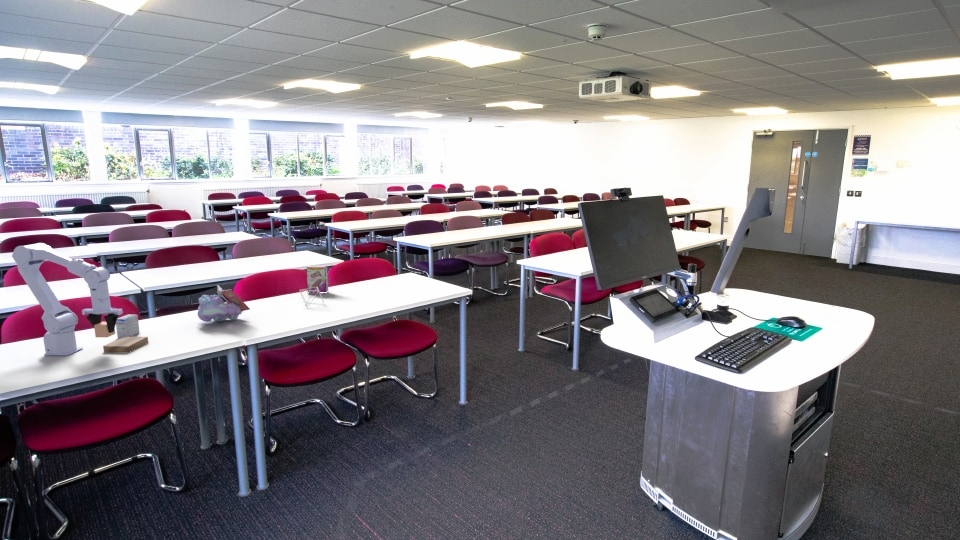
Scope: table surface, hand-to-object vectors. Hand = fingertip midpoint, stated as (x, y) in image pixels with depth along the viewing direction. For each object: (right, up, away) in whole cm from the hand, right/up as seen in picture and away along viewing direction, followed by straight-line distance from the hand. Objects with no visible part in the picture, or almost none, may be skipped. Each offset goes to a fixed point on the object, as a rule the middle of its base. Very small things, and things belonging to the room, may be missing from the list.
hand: (105, 332), depth 200 cm
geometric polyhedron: (+57, +5, +75) cm, 95 cm away
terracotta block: (0, -1, 0) cm, 1 cm away
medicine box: (-6, -5, +22) cm, 23 cm away
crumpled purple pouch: (+26, -1, +42) cm, 50 cm away
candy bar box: (+52, +10, +102) cm, 115 cm away
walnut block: (+3, -8, +8) cm, 11 cm away
